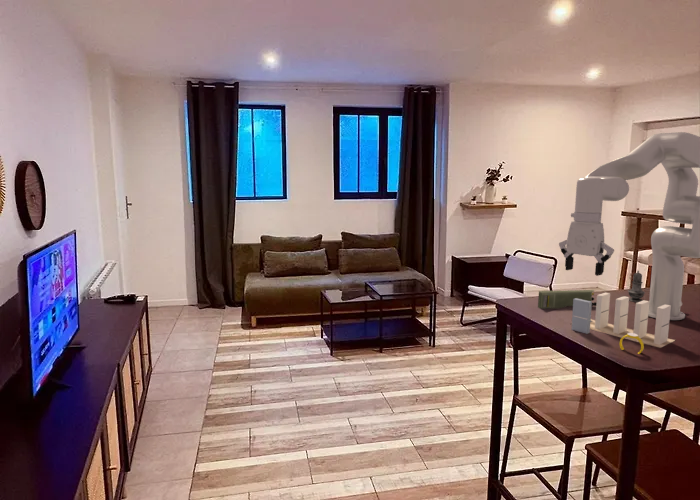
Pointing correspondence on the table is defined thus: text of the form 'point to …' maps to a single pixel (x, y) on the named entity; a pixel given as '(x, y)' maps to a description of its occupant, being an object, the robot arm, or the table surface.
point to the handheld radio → (563, 298)
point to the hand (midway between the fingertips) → (583, 272)
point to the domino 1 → (581, 315)
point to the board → (646, 339)
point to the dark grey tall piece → (636, 288)
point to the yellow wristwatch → (632, 335)
